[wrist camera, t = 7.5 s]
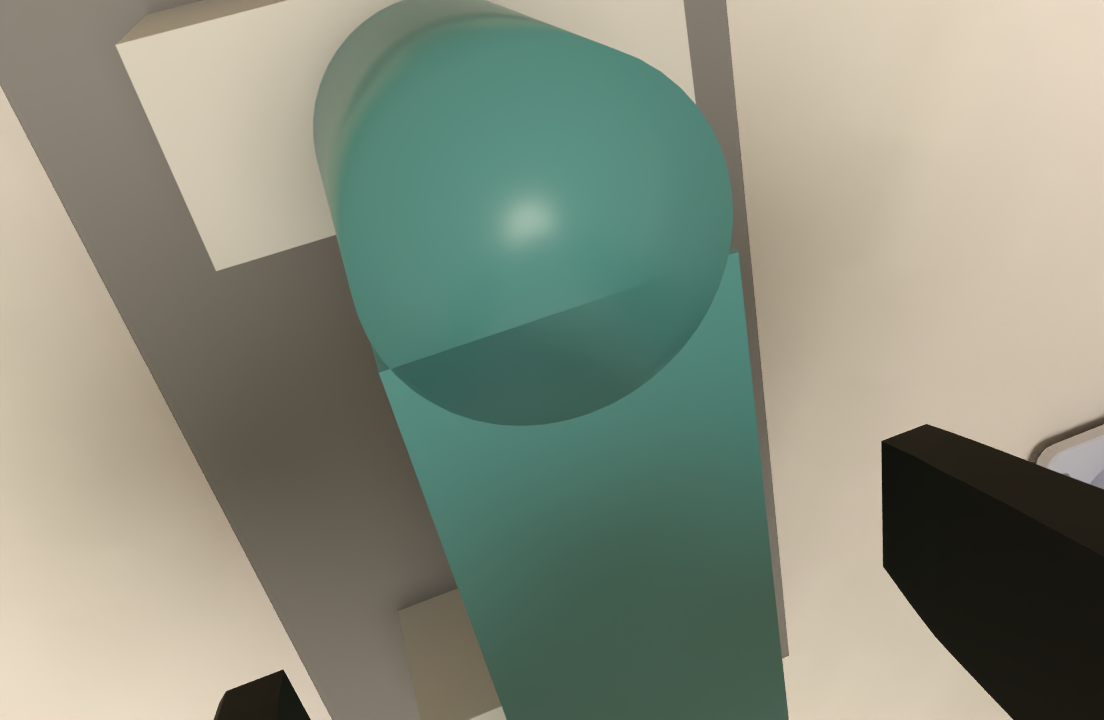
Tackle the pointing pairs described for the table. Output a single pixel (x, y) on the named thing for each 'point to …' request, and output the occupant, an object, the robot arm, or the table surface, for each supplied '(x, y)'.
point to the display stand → (295, 299)
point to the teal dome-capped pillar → (561, 355)
